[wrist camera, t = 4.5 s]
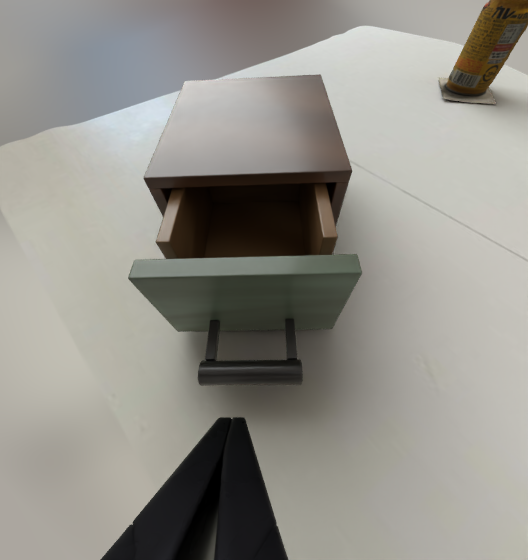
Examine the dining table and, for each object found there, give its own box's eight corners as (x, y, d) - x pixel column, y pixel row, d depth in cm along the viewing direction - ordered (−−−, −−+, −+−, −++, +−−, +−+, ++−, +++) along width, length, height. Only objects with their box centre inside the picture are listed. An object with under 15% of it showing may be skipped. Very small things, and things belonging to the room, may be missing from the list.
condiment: (485, 82, 41) (554, -35, 31) (495, 105, 36) (580, -22, 26) (437, 79, 42) (489, -34, 32) (442, 101, 38) (503, -22, 28)
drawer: (341, 389, 16) (386, 359, 9) (165, 390, 16) (97, 362, 10) (312, 204, 25) (324, 128, 19) (201, 207, 25) (178, 134, 19)
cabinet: (325, 262, 22) (352, 170, 14) (187, 266, 22) (142, 178, 15) (309, 166, 30) (320, 74, 22) (207, 170, 30) (184, 80, 23)
